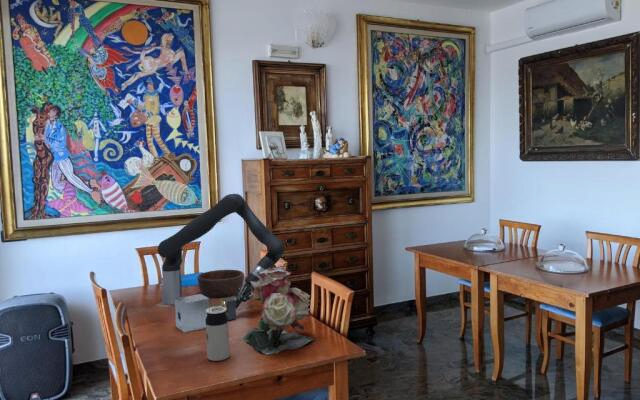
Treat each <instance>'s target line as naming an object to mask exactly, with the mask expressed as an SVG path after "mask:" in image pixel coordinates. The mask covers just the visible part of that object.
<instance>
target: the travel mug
mask: <svg viewBox="0 0 640 400" xmlns="http://www.w3.org/2000/svg"><path fill="white" fill-rule="evenodd" d="M211 307H212V306H211ZM226 310H227V309H226V308H225V307H212V308H208V309H207V310H206V313H207V317H206V319H205V320H206V328H205V331H206V332H205V334H206V335H205V337H206V356H207V359H208V360H210V361H212V362H213V361H214V362H218V361H219V362H221V361H224V360H226V359H228V358H229V357H230V339H229V320H228V317H227V315H226Z"/></svg>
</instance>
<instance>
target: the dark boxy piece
mask: <svg viewBox="0 0 640 400" xmlns="http://www.w3.org/2000/svg"><path fill="white" fill-rule="evenodd" d="M235 301H236V299H234V298H232V297H230V296H228V297H223V298H221V301H220V304H218V305H214V306H210V308H212V307H225V308H226V309H227V310H226V315H227V317H228V321H231V320H234V319H237V309H236V303H235Z"/></svg>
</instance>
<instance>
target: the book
mask: <svg viewBox="0 0 640 400" xmlns="http://www.w3.org/2000/svg"><path fill="white" fill-rule="evenodd" d="M202 273H204V272H202V271H200V272H194V273H187V274H181V279H182V288H184V287H185V288H186V287H191V286H192V287H193V286H199V284H198V279H197V277H198V275H200V274H202ZM161 284H162V285H163V277H161Z"/></svg>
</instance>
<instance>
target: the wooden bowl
mask: <svg viewBox="0 0 640 400" xmlns="http://www.w3.org/2000/svg"><path fill="white" fill-rule="evenodd" d="M197 279H198V284H199V285H198V288H199V290H200V292H201V294H202V295H204V296H205V297H207V298H228V297H230V296H236V293H237V289H238V287H240V288H242V287H243V285H244V282H245V274H244V271H242V270H238V269H218V270H210V271H205V272H203V273H202V274H200V275H198V277H197Z"/></svg>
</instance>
